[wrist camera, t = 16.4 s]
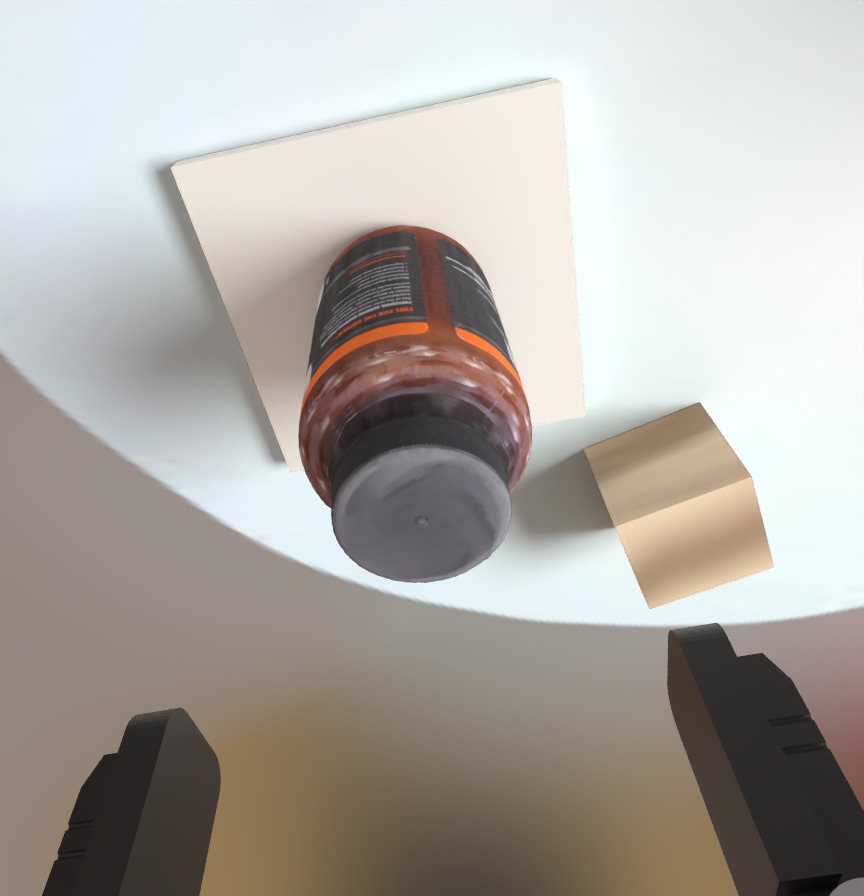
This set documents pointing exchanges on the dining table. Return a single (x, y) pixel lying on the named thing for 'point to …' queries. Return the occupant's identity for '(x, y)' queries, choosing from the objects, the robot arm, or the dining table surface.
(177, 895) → the robot arm
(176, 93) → the dining table surface
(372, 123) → the pad
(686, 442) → the beech block
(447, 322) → the supplement bottle
